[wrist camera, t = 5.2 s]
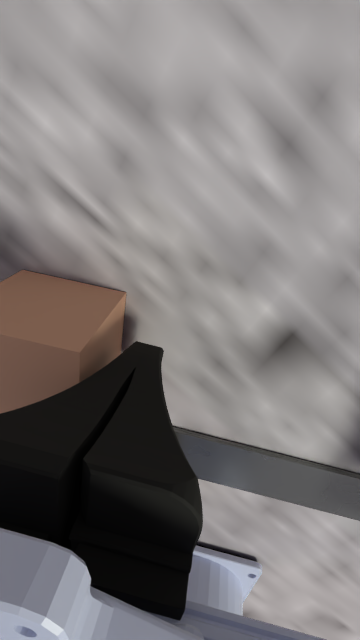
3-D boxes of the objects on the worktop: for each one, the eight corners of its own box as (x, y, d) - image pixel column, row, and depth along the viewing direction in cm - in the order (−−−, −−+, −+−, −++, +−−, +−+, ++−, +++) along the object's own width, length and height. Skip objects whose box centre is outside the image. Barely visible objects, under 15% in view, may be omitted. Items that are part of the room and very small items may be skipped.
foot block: (118, 377, 15) (78, 455, 11) (29, 356, 16) (-41, 425, 12) (126, 292, 13) (79, 352, 9) (22, 269, 14) (-66, 318, 10)
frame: (409, 536, 17) (452, 632, 14) (74, 448, 18) (36, 518, 15) (448, 497, 16) (509, 596, 12) (76, 402, 17) (33, 468, 13)
